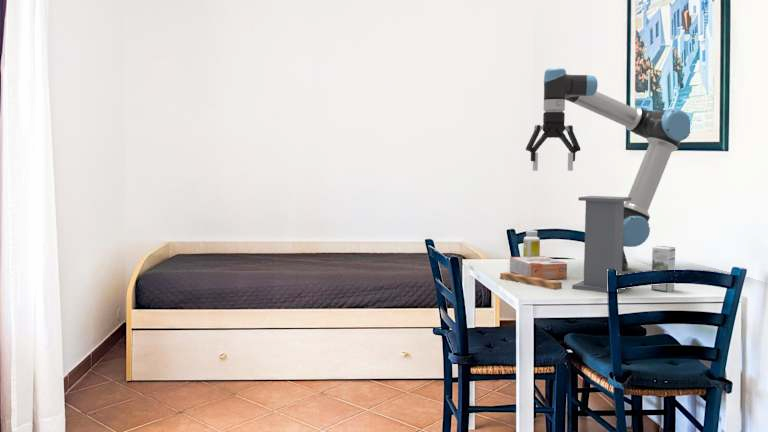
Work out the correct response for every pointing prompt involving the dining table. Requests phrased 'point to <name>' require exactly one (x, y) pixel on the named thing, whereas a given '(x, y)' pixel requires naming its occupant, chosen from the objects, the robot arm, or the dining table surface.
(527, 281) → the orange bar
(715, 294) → the dining table surface
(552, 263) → the cracker box
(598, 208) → the gray pedestal stand
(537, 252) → the supplement bottle
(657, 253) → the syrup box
